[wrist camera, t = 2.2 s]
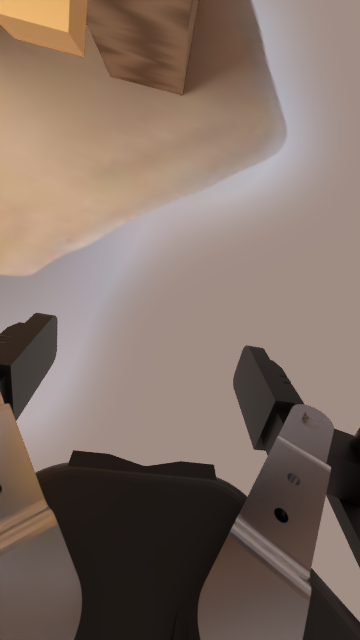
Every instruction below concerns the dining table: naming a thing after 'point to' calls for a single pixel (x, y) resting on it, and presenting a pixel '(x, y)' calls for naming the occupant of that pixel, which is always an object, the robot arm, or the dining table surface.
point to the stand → (144, 39)
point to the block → (47, 23)
